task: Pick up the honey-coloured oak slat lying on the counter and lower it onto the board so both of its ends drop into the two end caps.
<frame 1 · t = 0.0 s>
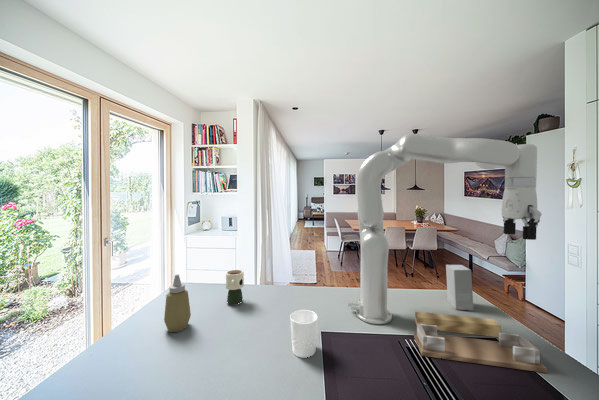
hand: (518, 236, 79), 31 cm above the kitchen counter, tool pointing down, fingers open, 9 cm apart
white cup: (304, 351, 70), on the kitchen counter
character mug: (235, 303, 100), on the kitchen counter
skincare box: (458, 306, 98), on the kitchen counter
slat: (455, 330, 81), on the kitchen counter
squeeze bottle: (177, 328, 82), on the kitchen counter
end cap frame: (472, 351, 69), on the kitchen counter
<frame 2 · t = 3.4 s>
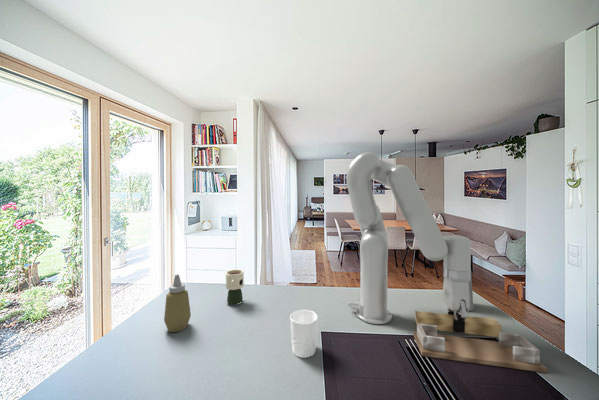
hand: (455, 327, 81), 1 cm above the kitchen counter, tool pointing down, fingers closed on slat, 4 cm apart
slat: (455, 329, 81), on the kitchen counter, touching gripper
everything else where it was.
when the fingers open (3 cm above the kitchen counter, at t = 8.8 s): slat drops 1 cm, resting on end cap frame.
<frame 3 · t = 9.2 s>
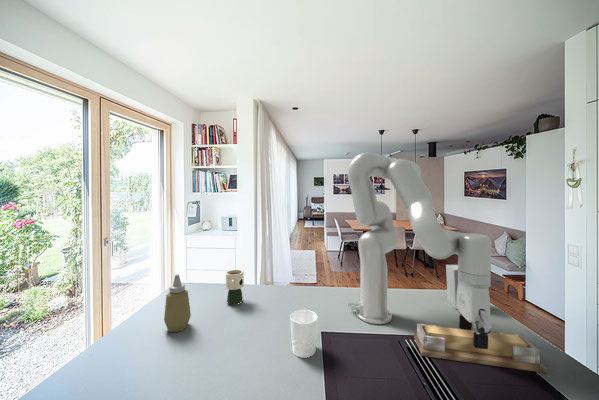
hand: (472, 337, 69), 4 cm above the kitchen counter, tool pointing down, fingers open, 8 cm apart
slat: (472, 347, 69), point 1 cm above the kitchen counter, touching end cap frame
everything else where it was.
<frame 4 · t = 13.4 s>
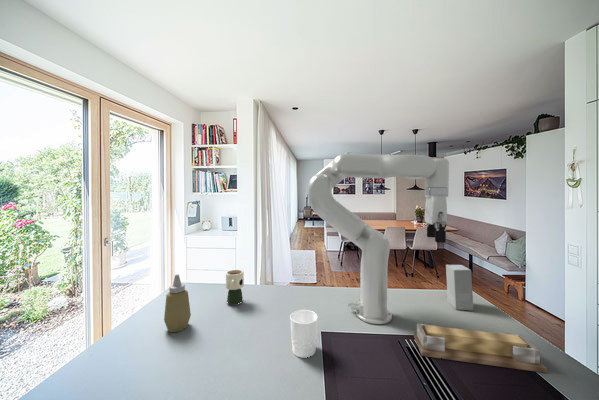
hand: (435, 239, 89), 28 cm above the kitchen counter, tool pointing down, fingers open, 9 cm apart
nothing on the kitchen counter moved.
at the end: slat 0.0 cm off-centre on the end cap frame, point 1.2 cm above the end cap frame's base; slat tilted 0°; the gripper is holding nothing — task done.
